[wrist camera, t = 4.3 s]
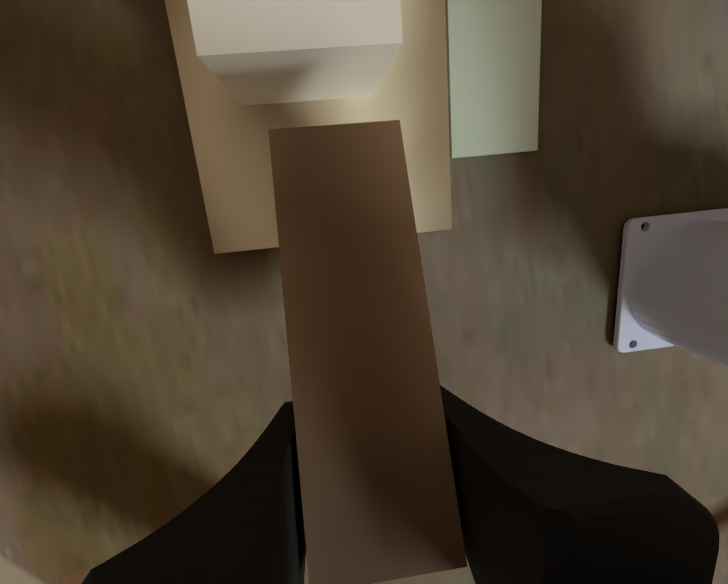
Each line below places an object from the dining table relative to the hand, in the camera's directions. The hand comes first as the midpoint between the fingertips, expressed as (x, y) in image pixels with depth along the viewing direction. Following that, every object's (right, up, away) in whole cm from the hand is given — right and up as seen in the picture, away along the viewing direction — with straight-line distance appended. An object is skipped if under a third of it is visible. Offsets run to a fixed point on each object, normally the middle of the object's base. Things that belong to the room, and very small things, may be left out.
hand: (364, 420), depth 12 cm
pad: (+6, +18, +6) cm, 20 cm away
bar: (-1, +2, +3) cm, 4 cm away
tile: (-3, +14, +5) cm, 15 cm away
